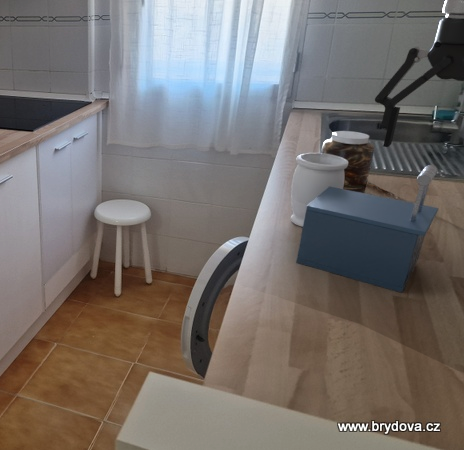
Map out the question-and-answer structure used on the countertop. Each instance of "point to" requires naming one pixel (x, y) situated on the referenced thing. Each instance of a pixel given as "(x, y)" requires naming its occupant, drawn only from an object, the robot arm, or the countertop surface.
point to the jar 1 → (314, 180)
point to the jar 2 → (352, 157)
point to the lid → (380, 207)
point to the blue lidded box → (359, 250)
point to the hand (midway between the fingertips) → (432, 152)
